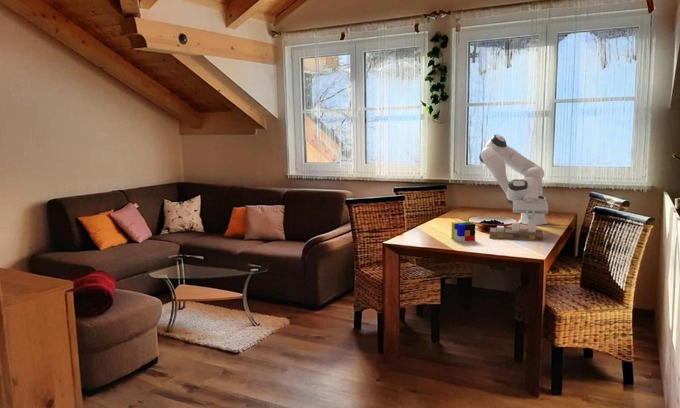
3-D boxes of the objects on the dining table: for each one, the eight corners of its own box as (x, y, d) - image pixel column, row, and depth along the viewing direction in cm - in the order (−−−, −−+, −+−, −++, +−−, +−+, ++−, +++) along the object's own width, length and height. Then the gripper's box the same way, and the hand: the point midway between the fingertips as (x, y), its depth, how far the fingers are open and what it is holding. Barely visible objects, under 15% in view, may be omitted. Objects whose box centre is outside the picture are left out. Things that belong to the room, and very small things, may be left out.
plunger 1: (496, 235, 315) (497, 225, 314) (503, 235, 314) (503, 226, 313) (496, 236, 312) (496, 227, 311) (503, 237, 310) (503, 227, 310)
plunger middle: (512, 231, 312) (512, 221, 311) (519, 231, 311) (519, 222, 310) (512, 232, 308) (512, 223, 308) (519, 233, 307) (519, 223, 306)
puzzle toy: (459, 242, 300) (459, 225, 298) (451, 238, 309) (451, 222, 308) (474, 240, 303) (475, 224, 301) (466, 237, 312) (466, 221, 311)
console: (490, 233, 320) (490, 227, 320) (541, 236, 311) (541, 229, 311) (489, 238, 309) (489, 231, 308) (543, 240, 300) (543, 234, 299)
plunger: (528, 232, 310) (528, 222, 309) (535, 232, 308) (535, 222, 307) (528, 233, 306) (528, 223, 305) (535, 233, 305) (535, 223, 304)
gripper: (512, 196, 316) (512, 214, 308) (548, 197, 310) (548, 216, 302) (512, 202, 321) (511, 220, 313) (547, 203, 314) (547, 222, 307)
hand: (530, 218), depth 308 cm, fingers closed
